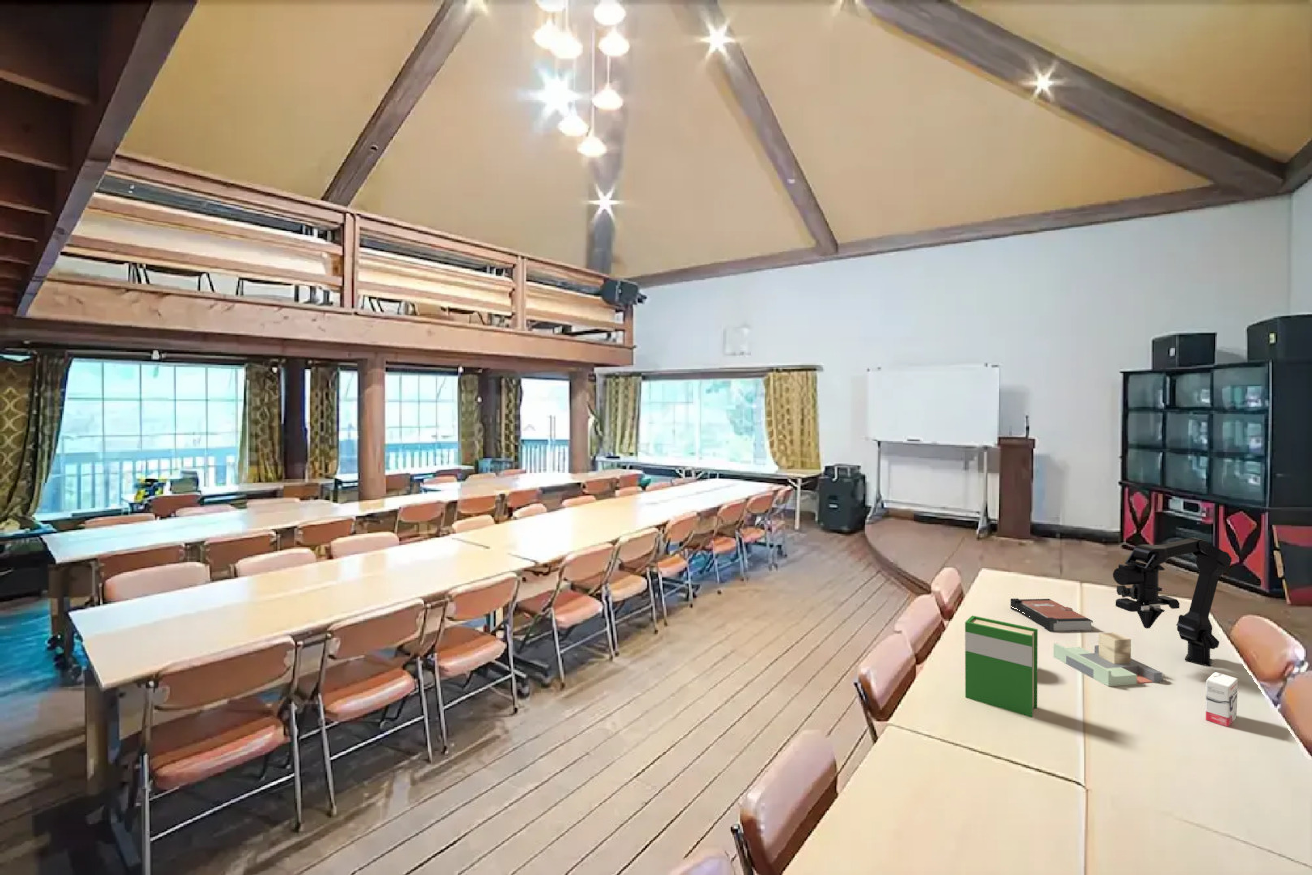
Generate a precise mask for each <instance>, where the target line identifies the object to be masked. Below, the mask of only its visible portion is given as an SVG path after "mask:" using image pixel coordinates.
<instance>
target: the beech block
mask: <svg viewBox="0 0 1312 875" xmlns="http://www.w3.org/2000/svg"><path fill="white" fill-rule="evenodd" d="M1098 645H1099V657H1101V658H1103V659H1105V660H1107V661H1110V662H1112V663H1114V664H1119V663H1131V658H1132V656H1131V655H1132V653H1131V652H1132V639H1131V638H1129V637H1127V636H1124V635H1122V634H1120V633H1117V632H1115V631H1114V632H1101V633H1098Z"/></svg>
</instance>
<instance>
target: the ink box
mask: <svg viewBox="0 0 1312 875" xmlns="http://www.w3.org/2000/svg"><path fill="white" fill-rule="evenodd" d="M1238 680H1239V679H1238V678H1236V677H1233V676H1230V675H1228V674H1223V673H1220V672H1215V671H1214V672H1213V673H1212V674H1211V675H1209V676H1208V678H1207V679H1206V682H1205V720H1206V721H1208V722H1211V723H1214V724H1217V725H1221V726H1223V727H1227V728H1228V727H1230V725H1231V724H1232V723H1233V722H1234V721H1235V719H1236V718H1237V715H1238V713H1237V711H1238V683H1239V682H1238Z"/></svg>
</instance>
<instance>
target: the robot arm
mask: <svg viewBox="0 0 1312 875" xmlns="http://www.w3.org/2000/svg"><path fill="white" fill-rule="evenodd" d="M1187 554H1188V555H1189V554H1192V555H1193V556H1195V565H1196V568H1197V570H1198V572H1199V573H1198V577H1197V580H1196V583H1195V587H1194V588H1195V589H1194V591H1193V595H1192V599H1191V603H1190V607H1189V610H1188V612H1187V613H1185V614H1179V616H1178V618H1177V619H1178V621H1177V623H1176V624H1175V626H1176V631H1178V635H1179V638H1180V640H1183V641H1186V642H1187V654H1186V656H1185V657H1184V660H1185V661H1187V662H1189V663H1195V664H1199V665H1203V666H1208V667H1211V666H1212V664H1213V659H1212V658H1211V650H1215V649H1217V648H1219V644H1220V641H1219V640H1218V639H1217V637H1215V636H1214V635H1213V633H1212V632H1213V625H1212V623H1211V621H1210V618H1209V617H1210V616H1209V615H1210V612H1211V609H1212V605H1213V601H1214V597H1215V593H1216V589H1217V587H1218V583H1219V579H1220V577H1221V576H1223V575H1224V574H1225V573H1227V572H1228V571H1229V568H1230V566H1231V564H1232V556H1231V555H1230V553H1228V552H1227V551H1224V550H1222V549H1220V548H1218V547H1216V546H1214V545H1212V544H1210V543H1209V542H1208V541H1207V540H1204V539H1201V538H1197V537H1187V538H1185V539H1181V540H1176V541H1171V542H1167V543H1162V544H1138V545H1135V546H1134V549H1133V550H1132V551H1131V553H1130V554H1129V556H1128V558H1127V559H1126V560H1125V561H1124V564H1123V563H1122V564H1121V563H1120V564H1118V567H1117V568H1115V569H1114V571H1113V572H1112V576H1113V580H1114V582H1115V583H1116V584H1118V585H1116V593H1117V595H1118V596H1121V598H1117V599H1116V600H1115V607H1117V608H1119V609H1121V610H1124V611H1127V612H1130V613H1131V612H1132V613H1135V612H1136V613H1137V615H1138V616H1139V618H1140V621H1141V624H1142V626H1143V628H1144V629H1151V627H1152V626H1153V624H1154V623H1155V622H1156V621H1157V619H1158V618H1159V617H1160V615H1162V613H1165V612H1166V611H1165V609H1163V608H1162V607H1161V606H1168V607H1169V608H1170V609H1172V610H1175V609H1180V602H1179V600H1178V599H1177V598H1174V597H1172V596H1167V595H1159V592H1163V588H1162V587H1160V585H1159V582H1160V581H1159V578H1160V573H1159V571H1165V569H1166V568H1164V567H1163V566H1162V565H1161V564H1164V563H1166V562H1167V561H1168V559H1170V558H1174V557H1178V556H1179V557H1180V556H1183V555H1187ZM1130 585H1131V587H1126V586H1130Z"/></svg>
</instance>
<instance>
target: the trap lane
mask: <svg viewBox="0 0 1312 875" xmlns="http://www.w3.org/2000/svg"><path fill="white" fill-rule="evenodd" d="M1053 658H1054V659H1057V660H1058V661H1060V662H1062V663H1064V664H1066V665H1068V666H1070V667H1071V668H1073V669H1075V670H1077V671H1079V672H1081V673H1083V674H1085V675H1086V676H1088V677H1090V678H1092V679H1094V680H1095V681H1098V682H1099V683H1100V684H1101V683H1102V684H1103V685H1104V686H1107V687H1117V686H1129V685H1138V684H1146V683H1147V684H1148V683H1162V682H1163V672H1161V671H1160V670H1157V669H1156V668H1153V667H1151V666H1148V665H1147V664H1144V663H1142V662H1140V661H1138V660H1135V659H1134V658H1132V657H1131V663H1119V664H1114V663H1112V662H1110V661H1107V660H1105V659H1103V658H1101V657H1099V644H1098V645H1094V652H1091V651H1089V650H1087V649H1085V648H1083V647H1081V646H1072V647H1071V646H1070V647H1065V646H1063V645H1061V644H1059V643H1057V642H1054V643H1053Z"/></svg>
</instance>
